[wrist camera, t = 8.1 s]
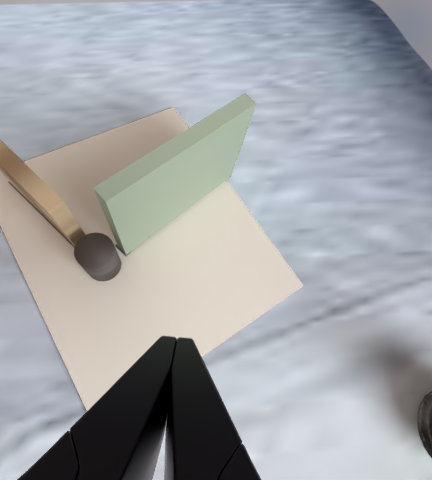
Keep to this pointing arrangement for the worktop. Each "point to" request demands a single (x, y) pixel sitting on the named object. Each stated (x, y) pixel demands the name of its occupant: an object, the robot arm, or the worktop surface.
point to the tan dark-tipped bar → (62, 218)
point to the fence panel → (174, 175)
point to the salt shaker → (426, 422)
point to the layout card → (139, 262)
